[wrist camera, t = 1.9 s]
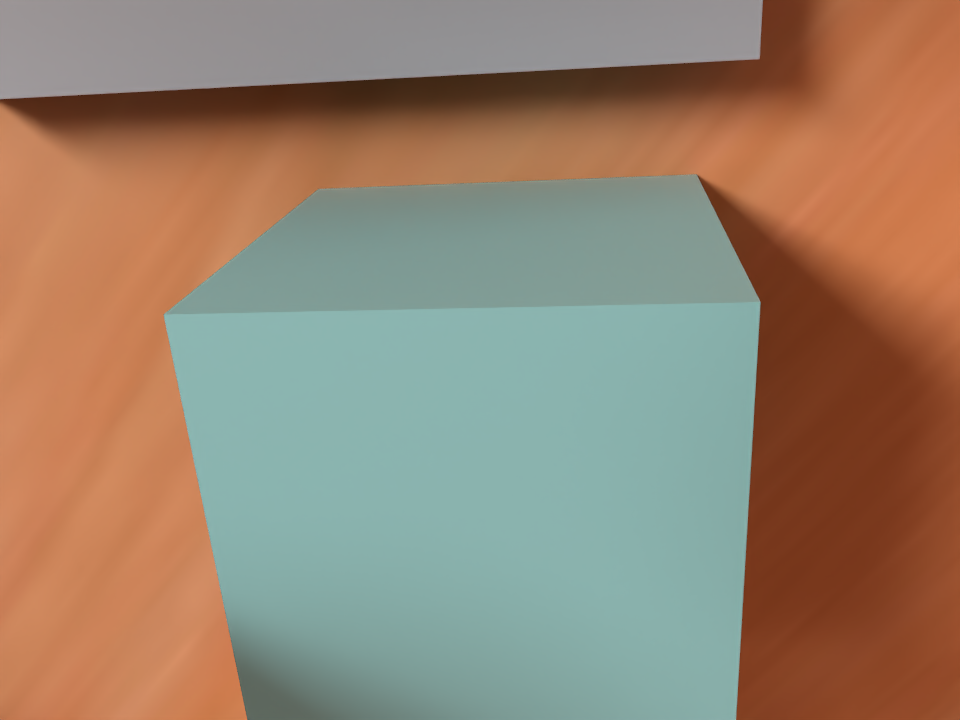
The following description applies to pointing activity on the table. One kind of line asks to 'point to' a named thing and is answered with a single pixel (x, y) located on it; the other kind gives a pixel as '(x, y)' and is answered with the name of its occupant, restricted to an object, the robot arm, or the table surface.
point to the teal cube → (479, 451)
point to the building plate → (348, 40)
